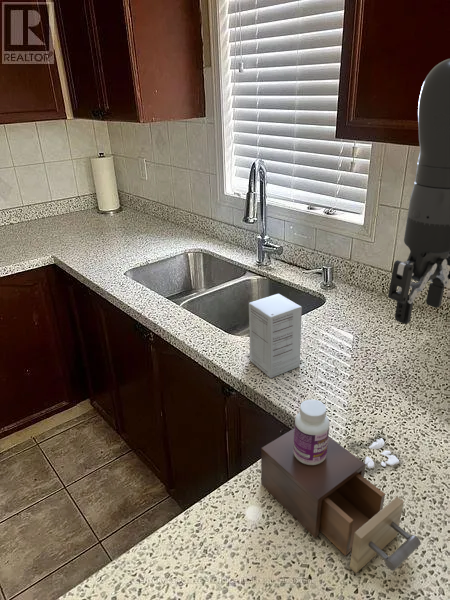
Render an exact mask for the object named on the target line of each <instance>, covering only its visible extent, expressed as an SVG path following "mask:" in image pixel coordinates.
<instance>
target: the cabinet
mask: <svg viewBox="0 0 450 600" xmlns="http://www.w3.org/2000/svg"><path fill="white" fill-rule="evenodd" d="M294 429H295V427H294V428H292V429H291V430H289V431H287V432H286V433H284V434H282V435H281V436H279V437H277V438H276V439H274V440H272V441H271V442H269V443H267V444H266V445H263V446H262V447H261V448H260V451H261V452H260V464H261V465H260V485H261V486H262V487H263V488H264V490H266V491H267V492H268V493H269V494H270V495H271V496H272V497H273V498H274V499H275V500H276V501H277V502H278V503H279V504H280V505H281V506H282V507H283V508H284V509H285V510H286V511H287V512H288V513H289V514H290V515H291V516H292V517H293V518H294V519H295V520H296V521H297V522H298V523H299V524H300V525H301V526H302V527H303V528H304V529H305V530H306V531H307V532H308V533H309V534H310V535H311V536H312V537H313V538H317V537H318V536H319V535H320V531H319V527H320V515H321V504H322V500H323V499H324V498H326V497H327V496H328V495H330V494H331V493H332V492H334V491H335V490H336V489H338V488H339V487H340V486H342V485H343V484H344V483H346V482H347V481H348V480H350V479H351V478H352V477H354V476H355V475H356V474H358V473H359V474H360V475H361V476H363V477H364V478H365V471H366V466H367V464H365V461H362V460H361V459H360V458H358V457H357V456H356V455H354V454H353V453H352V452H350V451H349V450H348V449H346V448H345V447H344V446H343V445H341V444H340V443H338V442H337V441H335V440H334V439H333V438H332V437H330V436H328V446H327V455H326V458H325V460H324V461H323V462H321V463H319V464H317V465H307V464H304V463H302V462H300V461H299V460H298V459H297V458H296V457H295V455H294V451H293V449H294Z"/></svg>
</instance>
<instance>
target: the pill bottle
mask: <svg viewBox="0 0 450 600" xmlns="http://www.w3.org/2000/svg"><path fill="white" fill-rule="evenodd" d="M294 428H295V429H294ZM294 428H293V429H294V449H293V451H294V455H295V457H296V458H297V459H298V460H299V461H300V462H302V463H304V464H307V465H317V464H319V463H321V462H323V461H324V460H325V458H326V455H327V446H328V436H329V434H330V419H329V417H328V416H327V406H326V404H325V403H324V402H322V401H320V400H318V399H306V400H303V401H302V402H301V403H300V405H299V412H298V413H297V414H296V415H295V419H294ZM329 437H330V436H329Z"/></svg>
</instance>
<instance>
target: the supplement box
mask: <svg viewBox="0 0 450 600" xmlns="http://www.w3.org/2000/svg"><path fill="white" fill-rule="evenodd" d="M302 311H303V307H302V306H301V305H300V304H297V302H294V301H292V300H290V299H289V298H287V297H286V296H284V295H282V294H280V293H275V294H272V295H269V296H266V297H263V298H259V299H257V300H254V301H250V302H248V323H249V324H248V325H249V326H248V327H249V362H251V363H252V364H253V365H254V366H256V367H257V368H258V369H259V370H260V371H261V372H263V373H264V374H265V375H266V376H268V377H269V378H270V379H273V378H275V377H277V376H279V375H283V374H285V373H288V372H289V371H291V370H294V369H298V368H300V366H301V343H302V315H303V314H302V313H303V312H302Z"/></svg>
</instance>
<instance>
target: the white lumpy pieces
mask: <svg viewBox="0 0 450 600" xmlns="http://www.w3.org/2000/svg"><path fill="white" fill-rule="evenodd" d="M384 446H385V440H384V439H383V438H382V437H379V438H377V439H376V441H373V442H372V444H371V445H369V446H368V449H371V450H380V449H382V448H383V447H384ZM379 455H382V456H385V457H387V458H388V459H387V460H386V461H381V463H380V464H381V466H382V467H384V468H385V467H387V465H388V466H390V467H394V466H397V465H399V464H400V459H399V458H398V457H397V456H396V455H393V454H392V452H391V451H390V450H384V451H382V452H381V453H379ZM364 463H365V464H366V465H367V468H368V469H372V468H374V467H375V462H374V460H373V459H372V458H371V457H369V456H365V459H364Z"/></svg>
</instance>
